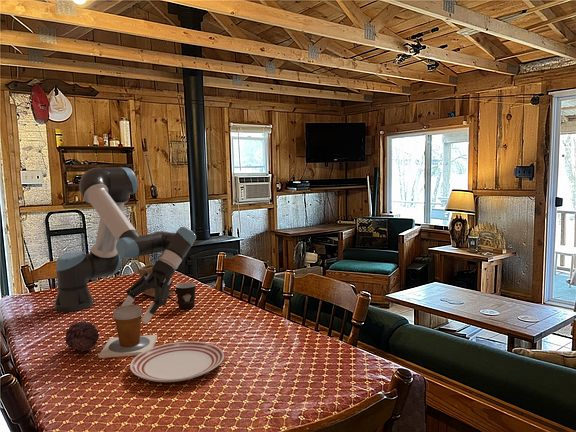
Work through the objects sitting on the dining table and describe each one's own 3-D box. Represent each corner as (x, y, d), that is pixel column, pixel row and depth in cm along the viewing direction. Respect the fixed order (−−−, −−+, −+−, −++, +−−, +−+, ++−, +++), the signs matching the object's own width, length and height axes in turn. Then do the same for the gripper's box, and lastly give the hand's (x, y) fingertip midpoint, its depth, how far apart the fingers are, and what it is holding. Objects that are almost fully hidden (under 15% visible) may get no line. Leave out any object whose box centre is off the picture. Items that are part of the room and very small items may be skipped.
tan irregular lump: (135, 295, 205) (134, 264, 203) (158, 289, 213) (157, 260, 212) (151, 301, 194) (149, 269, 193) (174, 295, 203) (173, 264, 201)
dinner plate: (149, 348, 144) (149, 339, 143) (231, 348, 143) (230, 339, 142) (114, 391, 117) (113, 379, 116) (214, 391, 116) (213, 380, 115)
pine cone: (105, 356, 138) (103, 326, 137) (71, 365, 132) (69, 333, 131) (93, 339, 152) (91, 311, 151) (62, 346, 146) (60, 318, 145)
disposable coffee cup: (150, 339, 148) (148, 306, 146) (132, 351, 139) (129, 315, 137) (127, 336, 151) (125, 303, 149) (108, 347, 142) (106, 312, 141)
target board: (98, 358, 137) (98, 354, 137) (110, 340, 151) (110, 337, 150) (150, 354, 139) (150, 350, 139) (157, 337, 153) (157, 334, 153)
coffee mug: (199, 304, 189) (198, 282, 188) (193, 311, 180) (192, 288, 179) (173, 304, 190) (172, 282, 189) (166, 310, 182) (165, 287, 180)
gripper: (195, 276, 149) (161, 331, 139) (152, 266, 164) (118, 315, 154) (182, 264, 144) (146, 320, 134) (139, 255, 159) (103, 305, 149)
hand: (131, 317), depth 144 cm, fingers open, 13 cm apart
